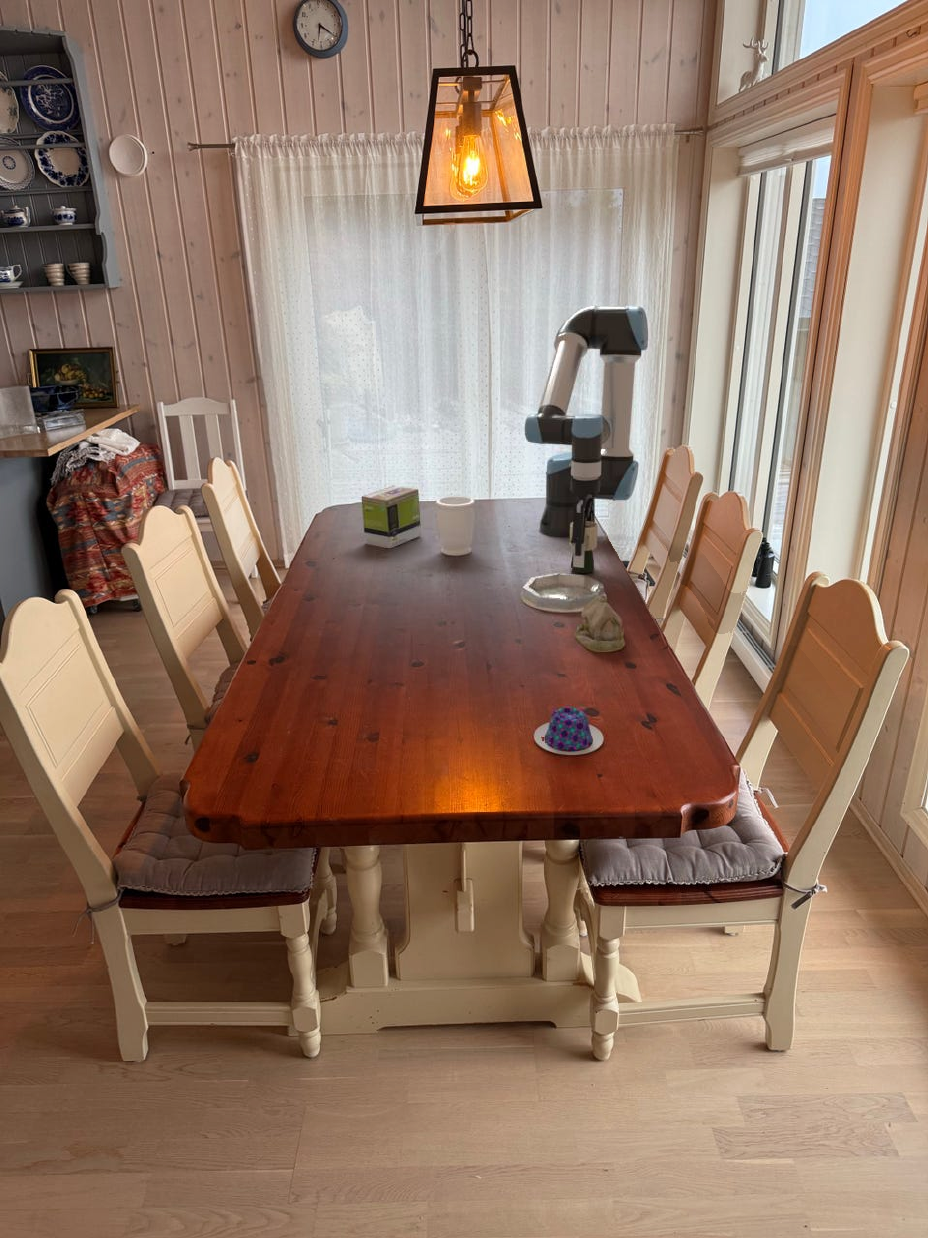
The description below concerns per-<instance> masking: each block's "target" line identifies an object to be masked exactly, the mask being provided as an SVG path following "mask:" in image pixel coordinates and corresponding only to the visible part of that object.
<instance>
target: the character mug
mask: <svg viewBox="0 0 928 1238" xmlns="http://www.w3.org/2000/svg"><path fill="white" fill-rule="evenodd" d="M572 532H573V523H571V524H570V537H569V548H570V549H572V550H574V543H571V540H572ZM578 539H579V538H578ZM584 543H585V551H584V567H583V568H581V567H573V555H572V557H571V562H570V571H571V572H573V573H575V574H576V573H577V574H586V573H590V572H594V571H595V560H594V558H595V557H594V552H593V551H594V550H595V549H596V548H598V547H597V546H598V523H596V522H590V521H586V528H585V535H584Z"/></svg>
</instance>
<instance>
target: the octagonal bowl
mask: <svg viewBox="0 0 928 1238" xmlns="http://www.w3.org/2000/svg"><path fill="white" fill-rule="evenodd" d="M596 596H600V597H601V596H605V597H606V599H608V597H607V594H606V592H605V584H603V583H601V582H600V581H598V580H596V579H594V578H593V577H591V576H589V575H585V574H576V573H575V574H574V573H573V574H572V573H564V572H554V573H549V574H543V575H538V576H537V575H536V576H531V577H530V579H529V580H528V581H527V582H526V584H524V585H523V587H522V591H521V593H520V600H521V601H522V603H524V604H525V605H526V606H528V607H530V608H532V609H535V610H538V611H542V612H546V613H547V612H548V613H557V614H576V613H582V611H583V609H584V607H585V606H586V605H587V604H588V603H590V602H591V601H592V600H593V599H594V598H595V597H596Z"/></svg>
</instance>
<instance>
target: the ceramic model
mask: <svg viewBox="0 0 928 1238" xmlns="http://www.w3.org/2000/svg"><path fill="white" fill-rule="evenodd" d="M607 599H608V598H607ZM607 599H606V597H605V596H601V597H600V596H596V597H595V598H594V599H593V600H592V601H591V602H590V603H588V604H587V605H586V606H585V607H584V609H583V611H582V612H580V613H581V614H580V616H581V617H582V624H579V625H577V627H576V629H575V630H576V631H575V634H574V637H575V639H576V640H577V641H578V642H579V643H580V645H581V646H584V648H586V649H588V650H590V651H592V652H595V653H609V652H615V651H619V650H622V649H623V648H624V647H625V646H626V641H625V639H624V635H625V632H624V628H622V626H623V619H622V618H621V616H620V615H618V613H617V612H616V611H614V609H613V608H612V607H611V605H610V604H609V603H608V600H607Z"/></svg>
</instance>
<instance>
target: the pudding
mask: <svg viewBox="0 0 928 1238" xmlns="http://www.w3.org/2000/svg"><path fill="white" fill-rule="evenodd" d="M541 737H544V738H545V739H544V741H542V738H541ZM533 738H534V741H535V743H536V744H537V745H538V746H539V747H540V748H542V749H544V750H546V751H548V752H552V753H554V754H558V755H567V756H577V755H584V754H589V753H592V752H594V751H596V750H597V749H599V748H600V747H601V746H602V744H603V743H604V739H605V738H604V735H603V733H602V732H601V730H600V729H598V728H597V727H595V726H593V725H591V724H589V719H588V716H587V715H586V714H585V713H584V711H583V710H582V709H579V708H576V707H573V706H571V707H570V706H569V707H561V708H559V709H556V710H554V711H553V712H552V715H551V718H550V720H549V722H546V723H544V724H542V725H541V726H539V727H537V729H536V730H535V731H534V734H533ZM545 742H546V743H545ZM590 743H592V744H591V745H590Z"/></svg>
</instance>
